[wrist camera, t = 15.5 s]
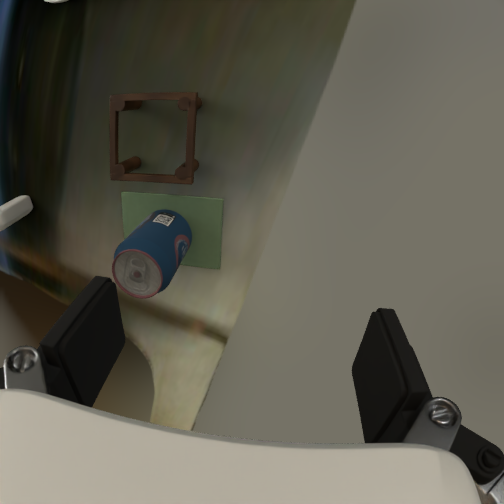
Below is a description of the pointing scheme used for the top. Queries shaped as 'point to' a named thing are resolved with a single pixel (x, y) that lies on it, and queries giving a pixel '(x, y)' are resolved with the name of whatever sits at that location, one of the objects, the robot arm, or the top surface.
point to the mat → (195, 213)
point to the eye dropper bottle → (14, 210)
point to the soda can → (151, 254)
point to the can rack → (122, 169)
